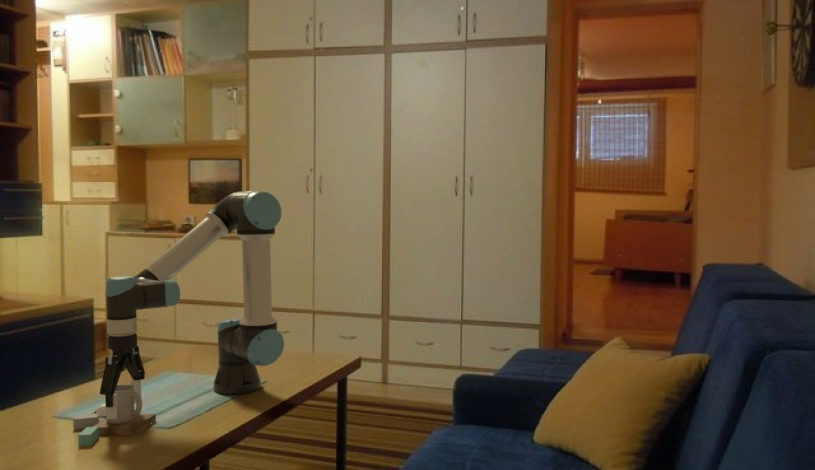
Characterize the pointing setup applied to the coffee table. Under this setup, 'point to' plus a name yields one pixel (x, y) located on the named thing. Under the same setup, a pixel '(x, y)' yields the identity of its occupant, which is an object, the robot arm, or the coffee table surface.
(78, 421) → the grey brick
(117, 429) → the walnut block
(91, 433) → the teal brick
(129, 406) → the cup
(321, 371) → the coffee table surface
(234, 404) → the coffee table surface
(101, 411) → the toy car
